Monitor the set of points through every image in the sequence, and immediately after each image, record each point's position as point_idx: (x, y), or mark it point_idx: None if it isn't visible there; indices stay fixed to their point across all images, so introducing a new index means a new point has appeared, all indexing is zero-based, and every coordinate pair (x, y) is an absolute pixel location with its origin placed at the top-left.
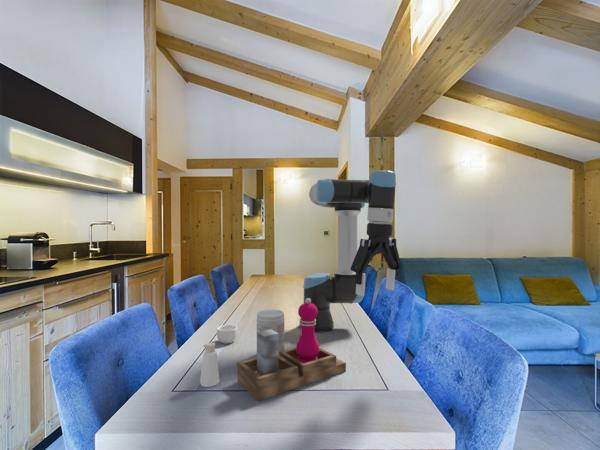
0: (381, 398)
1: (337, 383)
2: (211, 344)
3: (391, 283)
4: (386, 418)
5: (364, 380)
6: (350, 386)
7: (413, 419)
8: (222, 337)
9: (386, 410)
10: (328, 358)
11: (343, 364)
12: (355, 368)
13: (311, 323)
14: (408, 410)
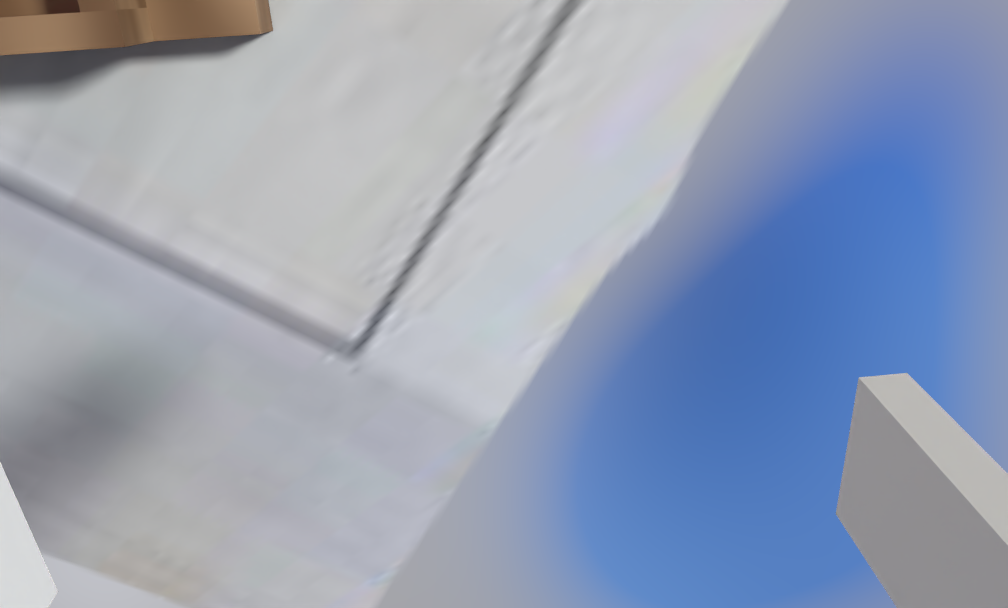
0: (257, 399)
1: (114, 152)
2: None
3: (910, 588)
4: (163, 520)
5: (304, 208)
6: (173, 224)
7: (269, 569)
8: None
9: (206, 480)
10: (34, 52)
11: (235, 35)
12: (365, 34)
13: None
14: (302, 521)
